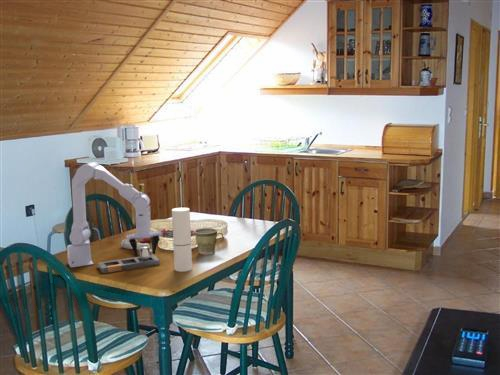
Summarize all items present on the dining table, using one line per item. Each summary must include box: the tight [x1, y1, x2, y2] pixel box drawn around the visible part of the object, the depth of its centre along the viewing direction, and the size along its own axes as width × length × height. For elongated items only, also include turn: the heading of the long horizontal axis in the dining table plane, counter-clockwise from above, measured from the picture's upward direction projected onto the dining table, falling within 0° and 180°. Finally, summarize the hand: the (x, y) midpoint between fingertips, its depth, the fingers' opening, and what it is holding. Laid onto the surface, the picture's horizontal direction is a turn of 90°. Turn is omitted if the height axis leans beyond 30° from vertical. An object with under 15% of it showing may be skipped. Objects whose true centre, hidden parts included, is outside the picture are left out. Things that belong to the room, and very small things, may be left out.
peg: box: [139, 246, 150, 262], centre depth 263 cm, size 4×4×7 cm
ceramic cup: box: [194, 227, 224, 255], centre depth 276 cm, size 13×10×10 cm
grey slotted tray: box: [97, 254, 161, 274], centre depth 260 cm, size 24×9×2 cm, turn 114°
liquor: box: [134, 183, 152, 244], centre depth 296 cm, size 7×7×28 cm
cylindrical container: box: [171, 207, 193, 273], centre depth 252 cm, size 7×7×25 cm
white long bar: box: [119, 239, 153, 255], centre depth 280 cm, size 5×7×25 cm
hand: (144, 254), depth 263 cm, fingers open, 7 cm apart
